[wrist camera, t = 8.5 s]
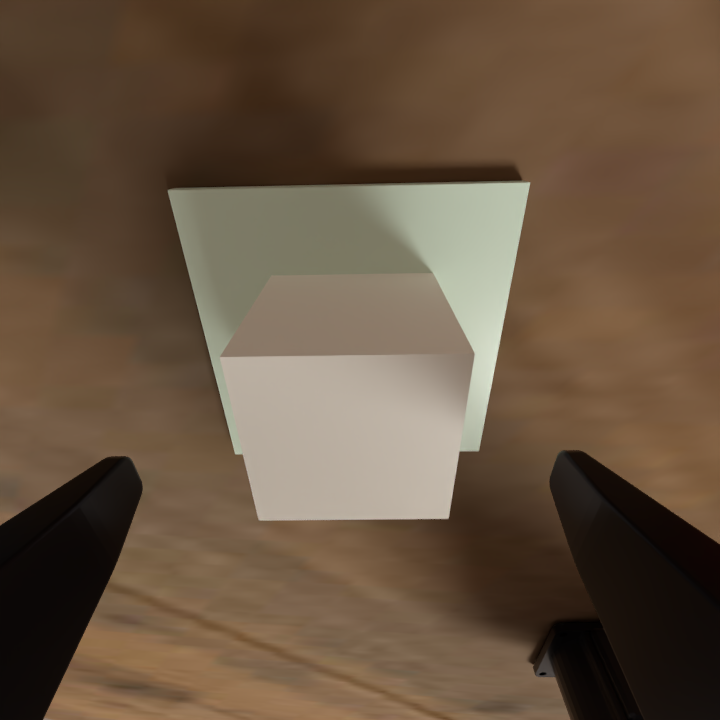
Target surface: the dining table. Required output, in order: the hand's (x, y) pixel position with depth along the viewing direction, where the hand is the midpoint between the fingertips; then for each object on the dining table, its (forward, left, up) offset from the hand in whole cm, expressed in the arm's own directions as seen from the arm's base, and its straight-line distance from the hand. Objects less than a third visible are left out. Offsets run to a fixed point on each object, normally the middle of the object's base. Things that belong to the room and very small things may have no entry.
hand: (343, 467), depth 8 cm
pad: (0, 0, -6) cm, 6 cm away
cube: (0, 0, -6) cm, 6 cm away
